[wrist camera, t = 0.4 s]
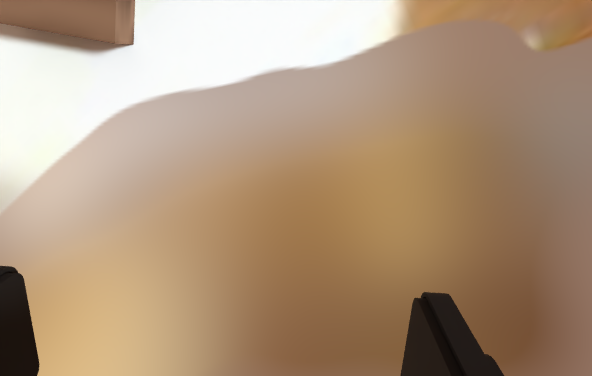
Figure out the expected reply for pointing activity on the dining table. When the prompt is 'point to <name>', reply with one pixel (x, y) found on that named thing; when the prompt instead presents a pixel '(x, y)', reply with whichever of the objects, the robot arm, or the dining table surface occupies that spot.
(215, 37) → the dining table surface
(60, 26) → the walnut block
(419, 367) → the robot arm
